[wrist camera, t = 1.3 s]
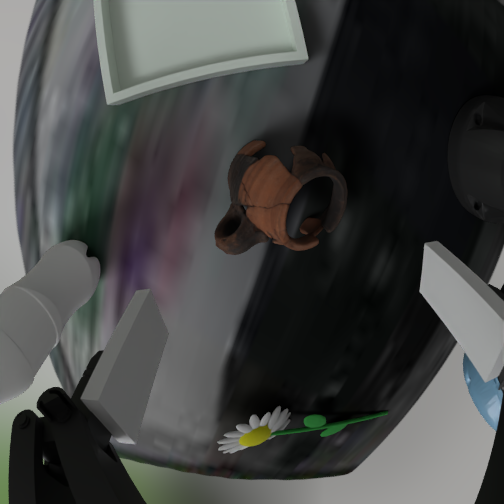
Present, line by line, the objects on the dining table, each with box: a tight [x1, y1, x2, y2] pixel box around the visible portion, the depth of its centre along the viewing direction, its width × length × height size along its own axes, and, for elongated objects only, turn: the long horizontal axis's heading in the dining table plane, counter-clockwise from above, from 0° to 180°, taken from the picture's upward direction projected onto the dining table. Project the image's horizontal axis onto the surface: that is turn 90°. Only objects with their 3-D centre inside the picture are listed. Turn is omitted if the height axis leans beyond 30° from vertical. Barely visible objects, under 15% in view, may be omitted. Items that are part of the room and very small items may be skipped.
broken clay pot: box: [215, 140, 348, 255], centre depth 26 cm, size 12×10×8 cm
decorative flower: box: [217, 406, 388, 453], centre depth 42 cm, size 13×5×30 cm
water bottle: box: [0, 240, 100, 404], centre depth 20 cm, size 7×7×25 cm
